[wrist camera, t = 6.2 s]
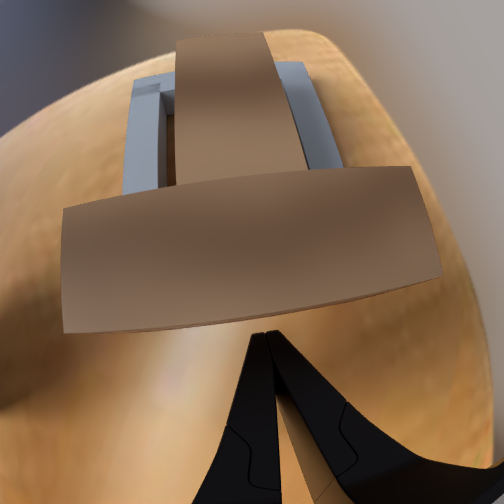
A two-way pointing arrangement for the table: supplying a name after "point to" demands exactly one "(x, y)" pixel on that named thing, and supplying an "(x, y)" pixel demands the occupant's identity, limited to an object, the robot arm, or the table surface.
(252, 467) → the robot arm
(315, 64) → the table surface
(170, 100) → the frame
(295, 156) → the walnut T block
